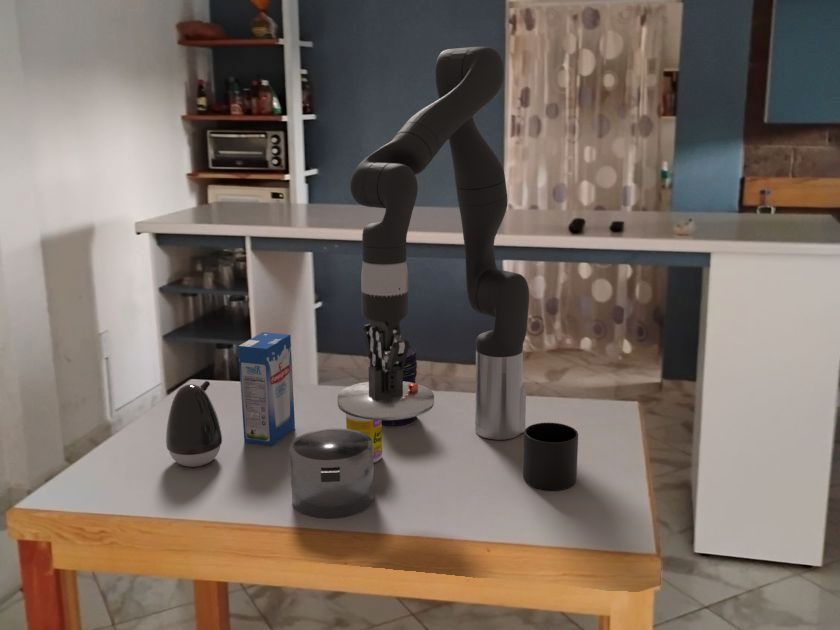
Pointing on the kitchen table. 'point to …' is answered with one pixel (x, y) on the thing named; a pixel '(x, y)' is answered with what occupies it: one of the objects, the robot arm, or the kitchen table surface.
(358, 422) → the supplement bottle
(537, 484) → the mug
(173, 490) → the kitchen table surface
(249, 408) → the milk carton
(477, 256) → the robot arm
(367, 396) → the lid
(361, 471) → the pot
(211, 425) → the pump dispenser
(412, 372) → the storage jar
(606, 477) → the kitchen table surface
